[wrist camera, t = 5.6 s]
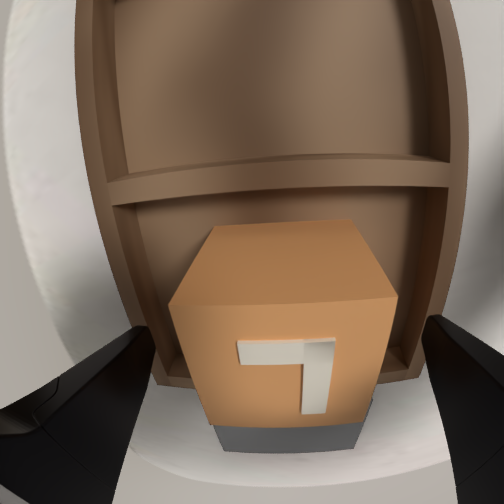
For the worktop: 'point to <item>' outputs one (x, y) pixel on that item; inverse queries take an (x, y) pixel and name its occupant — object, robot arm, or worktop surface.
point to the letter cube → (284, 324)
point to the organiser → (273, 142)
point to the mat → (289, 438)
